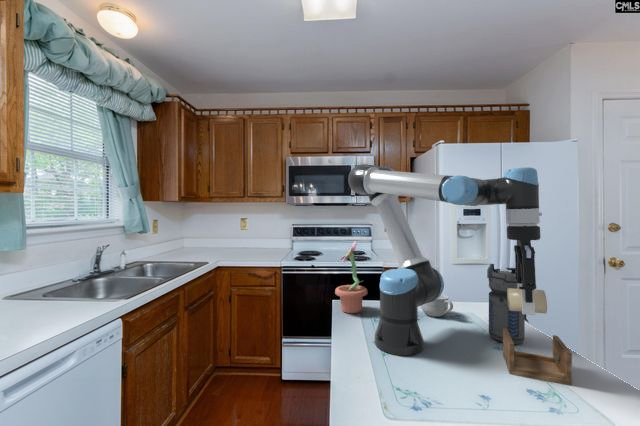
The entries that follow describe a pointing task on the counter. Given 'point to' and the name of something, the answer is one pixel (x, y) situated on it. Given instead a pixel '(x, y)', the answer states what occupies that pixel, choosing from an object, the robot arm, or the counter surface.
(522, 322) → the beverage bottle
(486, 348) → the counter surface
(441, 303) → the teacup
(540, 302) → the cylinder
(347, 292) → the decorative flower
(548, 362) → the holder
